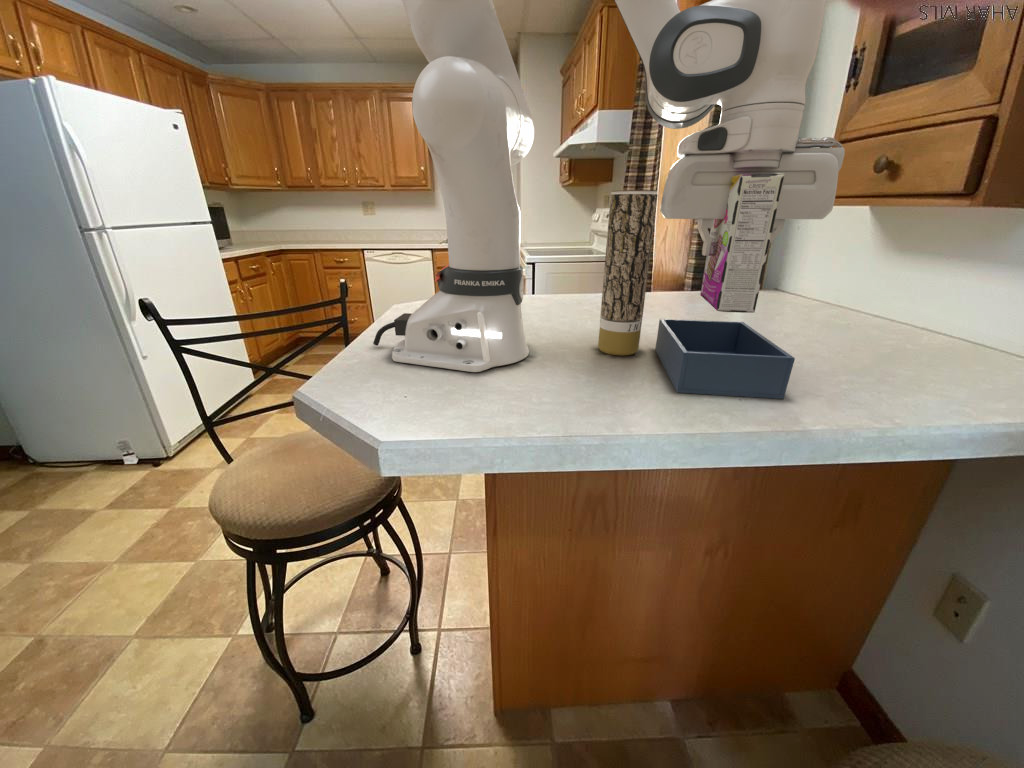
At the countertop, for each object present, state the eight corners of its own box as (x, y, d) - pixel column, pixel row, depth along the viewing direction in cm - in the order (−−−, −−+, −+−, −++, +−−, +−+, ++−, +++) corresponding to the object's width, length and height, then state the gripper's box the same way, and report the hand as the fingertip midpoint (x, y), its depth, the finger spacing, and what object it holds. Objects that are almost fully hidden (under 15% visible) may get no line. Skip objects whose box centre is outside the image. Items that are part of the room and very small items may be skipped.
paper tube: (593, 354, 71) (607, 190, 61) (601, 343, 77) (615, 192, 67) (635, 359, 69) (656, 189, 59) (640, 347, 74) (659, 191, 65)
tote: (677, 392, 56) (683, 352, 54) (655, 350, 73) (659, 318, 71) (783, 399, 54) (795, 358, 52) (736, 354, 71) (743, 321, 69)
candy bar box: (697, 296, 65) (717, 178, 59) (732, 297, 64) (756, 177, 58) (714, 312, 55) (740, 171, 49) (756, 314, 54) (788, 171, 48)
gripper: (834, 140, 53) (805, 254, 59) (666, 143, 56) (652, 252, 61) (865, 132, 48) (829, 259, 53) (675, 136, 50) (660, 257, 56)
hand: (733, 255), depth 57 cm, fingers closed on candy bar box, 5 cm apart
